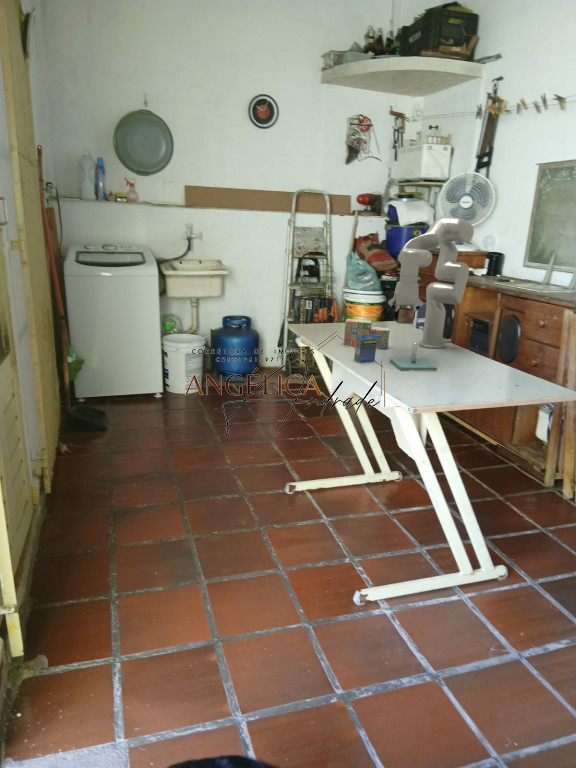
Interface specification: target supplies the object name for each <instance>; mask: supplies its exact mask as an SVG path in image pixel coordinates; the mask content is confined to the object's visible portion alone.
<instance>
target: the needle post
mask: <svg viewBox="0 0 576 768" xmlns="http://www.w3.org/2000/svg"><path fill="white" fill-rule="evenodd" d="M418 346H419V343H417V342H414V343H412V347H411V348H412V350H411V358H410V359H411V363H413V364H415V363H416V359H417V354H418V353H417V352H418Z"/></svg>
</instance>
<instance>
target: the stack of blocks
mask: <svg viewBox="0 0 576 768" xmlns="http://www.w3.org/2000/svg"><path fill="white" fill-rule="evenodd" d="M372 322H373V321H372V320H368V319H355V318H353V319H352V318H347V319H346V320H345V324H344V336H343V339H344V340H343V346H349V347H355V346H356V342H358V341H361V335H369V334H377V344H376V349H382V350H388V348H389V338H390V332H391V331H390V328H389V327H377V326H372ZM370 338H372V337H370V336H369V337H367V339H370Z"/></svg>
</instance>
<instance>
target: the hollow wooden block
mask: <svg viewBox="0 0 576 768" xmlns="http://www.w3.org/2000/svg"><path fill="white" fill-rule="evenodd" d="M398 312H399V313H398V320H395V319H394V318H393V321H394V323H397V324H398V325H399V324H401V325H402V324H406V325H413V324H414V313H415V314H416V312H415V310H413V309H412V308H411V307H401V306H400V307H399V309H398Z"/></svg>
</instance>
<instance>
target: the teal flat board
mask: <svg viewBox="0 0 576 768" xmlns="http://www.w3.org/2000/svg"><path fill="white" fill-rule="evenodd" d="M389 363H390V364H392V365H393V366H394V367H395V368H397V370H399V371H400V372H411V371H410V370H415V371H414V372H417V371H416V370H437V371H438V367H437V366H436V365H434V364H433V363H432V362H430V361H429V360H427V359H425V358H416V363H415V364H413V363H411V358H389ZM408 370H409V371H408Z"/></svg>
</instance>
